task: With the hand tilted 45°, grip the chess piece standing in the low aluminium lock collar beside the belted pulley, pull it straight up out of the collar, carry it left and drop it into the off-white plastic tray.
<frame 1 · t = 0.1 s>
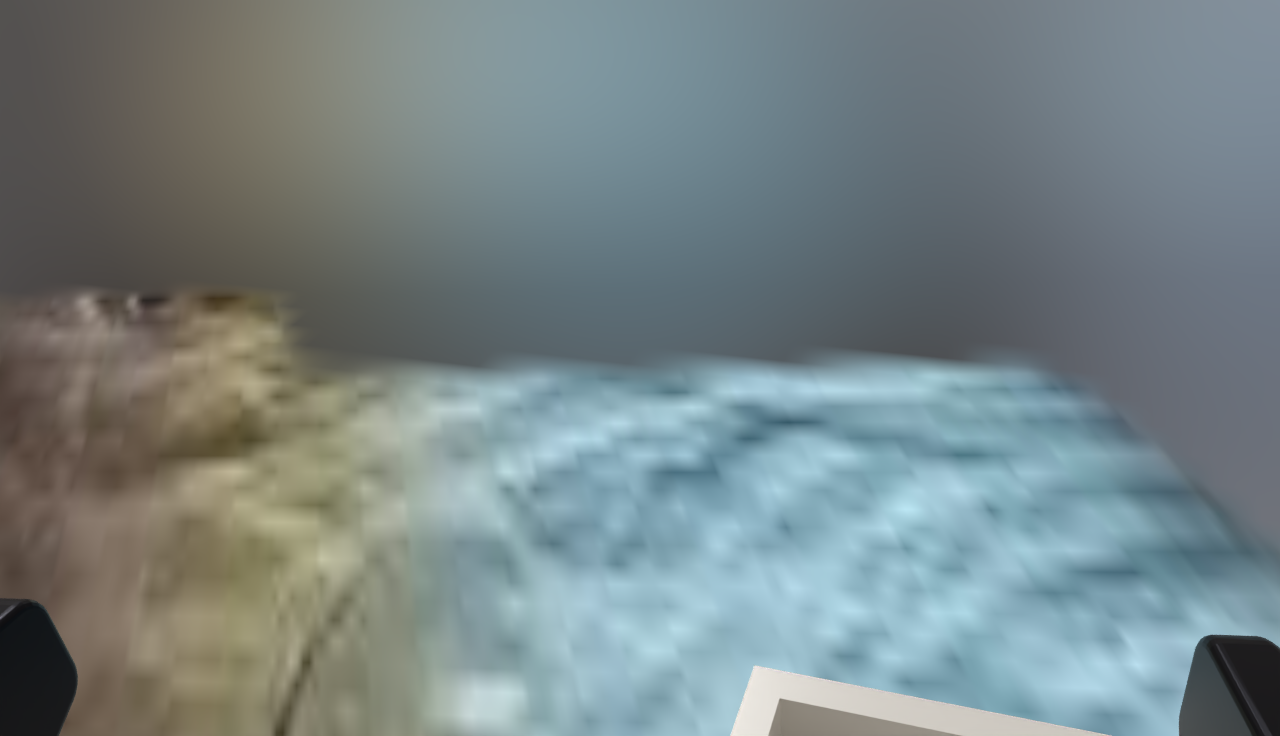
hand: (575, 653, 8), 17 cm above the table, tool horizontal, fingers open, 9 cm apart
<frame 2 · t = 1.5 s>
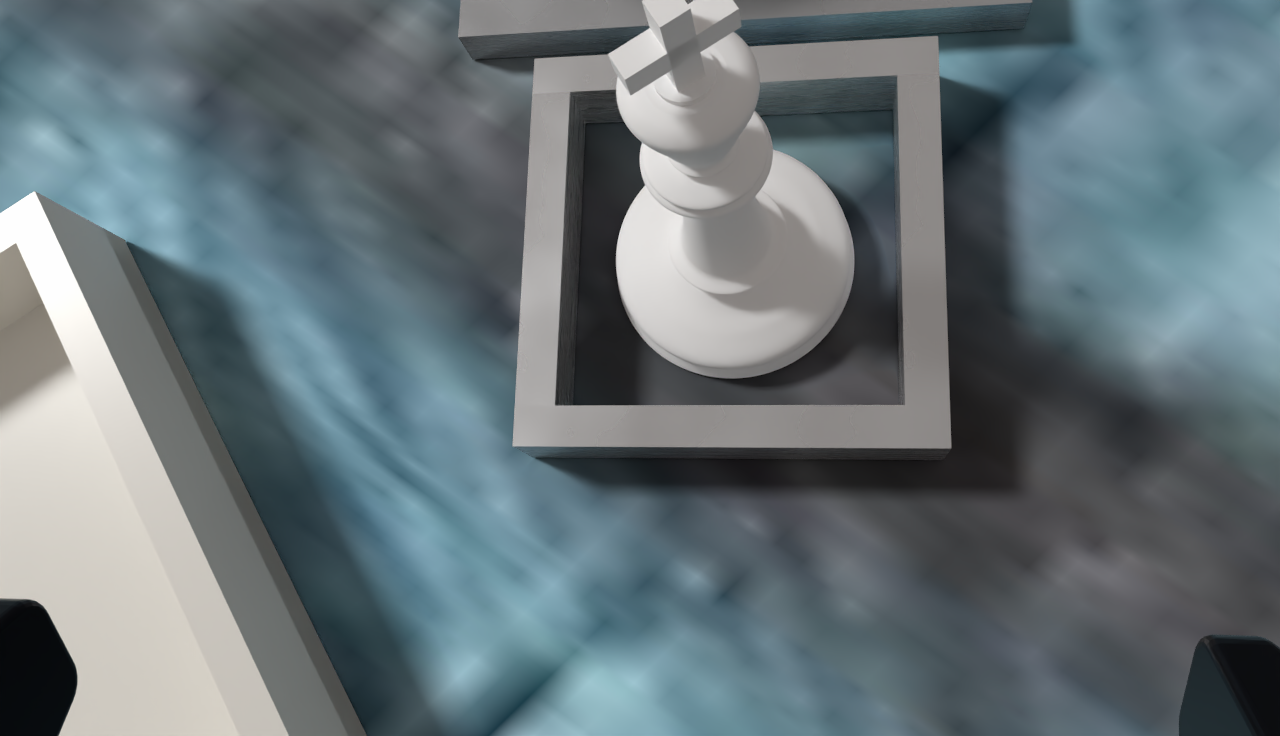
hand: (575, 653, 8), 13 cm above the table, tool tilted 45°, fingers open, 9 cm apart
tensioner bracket: (733, 263, 23), on the table
chess piece: (734, 266, 23), resting in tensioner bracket
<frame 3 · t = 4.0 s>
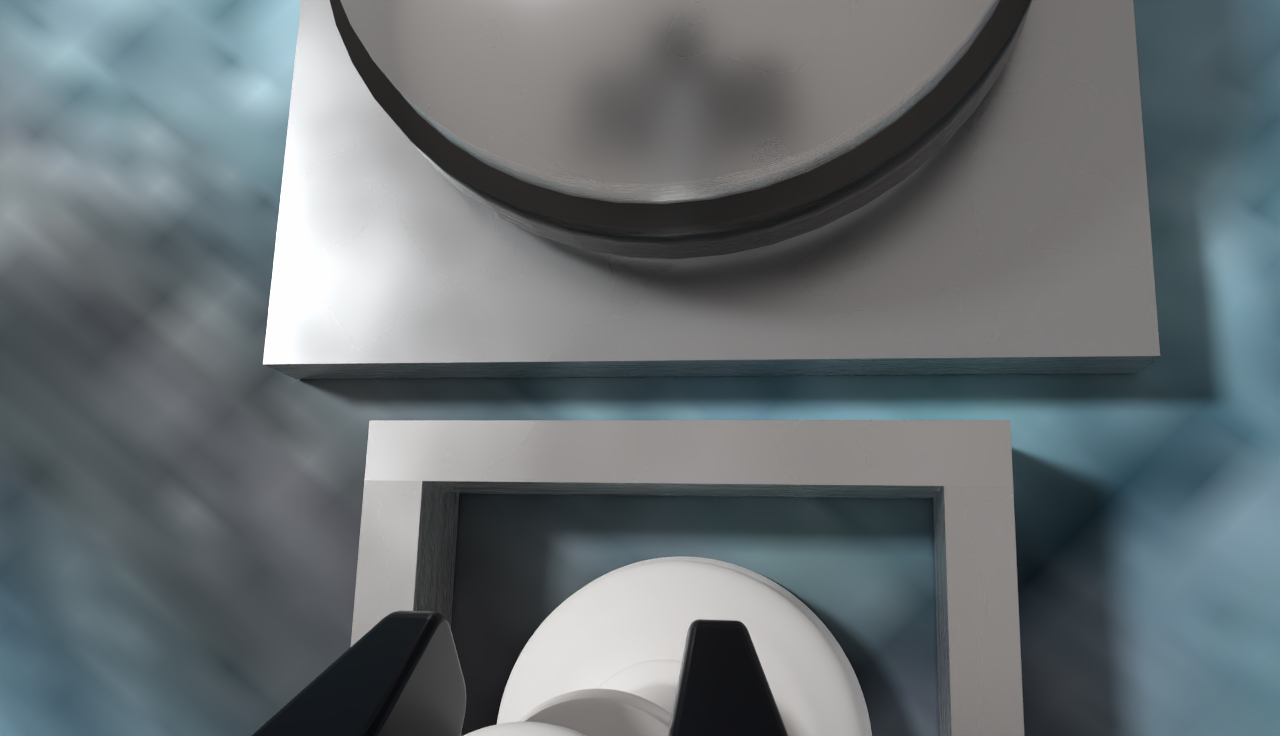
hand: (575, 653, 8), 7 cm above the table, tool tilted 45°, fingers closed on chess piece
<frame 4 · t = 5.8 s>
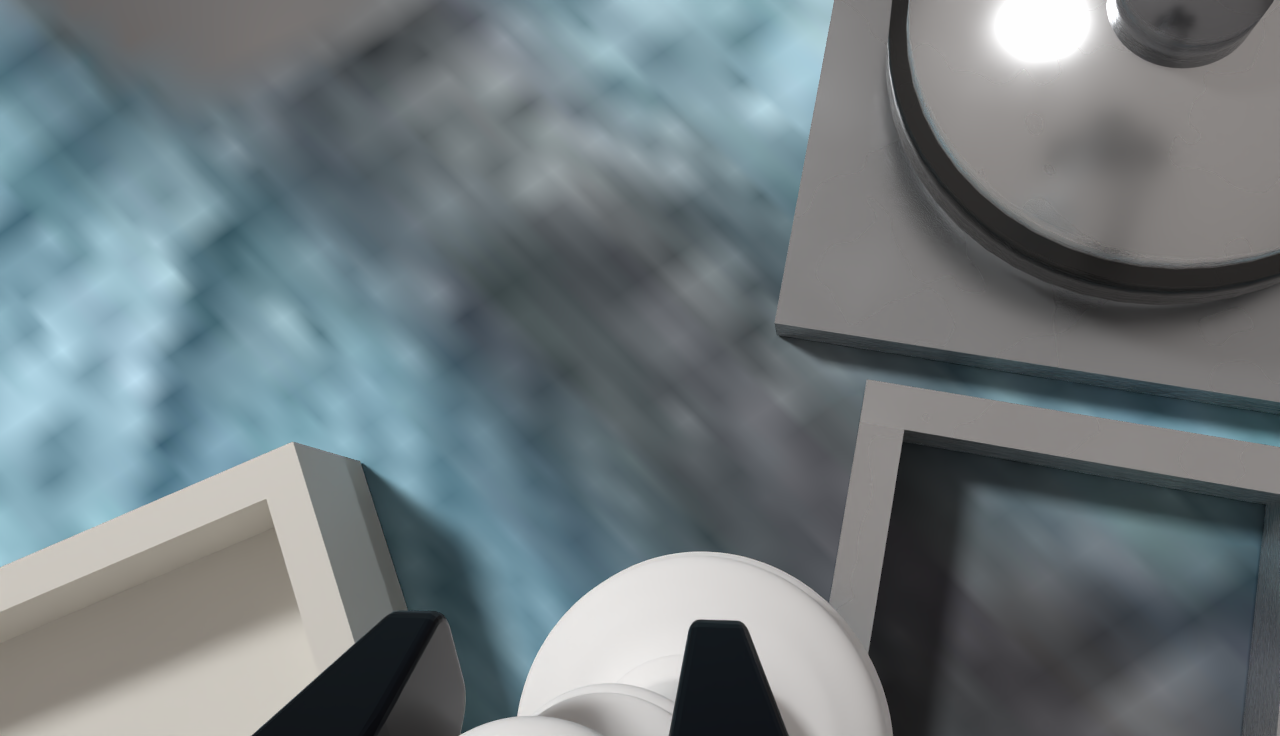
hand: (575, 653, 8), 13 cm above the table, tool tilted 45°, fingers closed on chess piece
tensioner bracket: (1053, 648, 20), on the table
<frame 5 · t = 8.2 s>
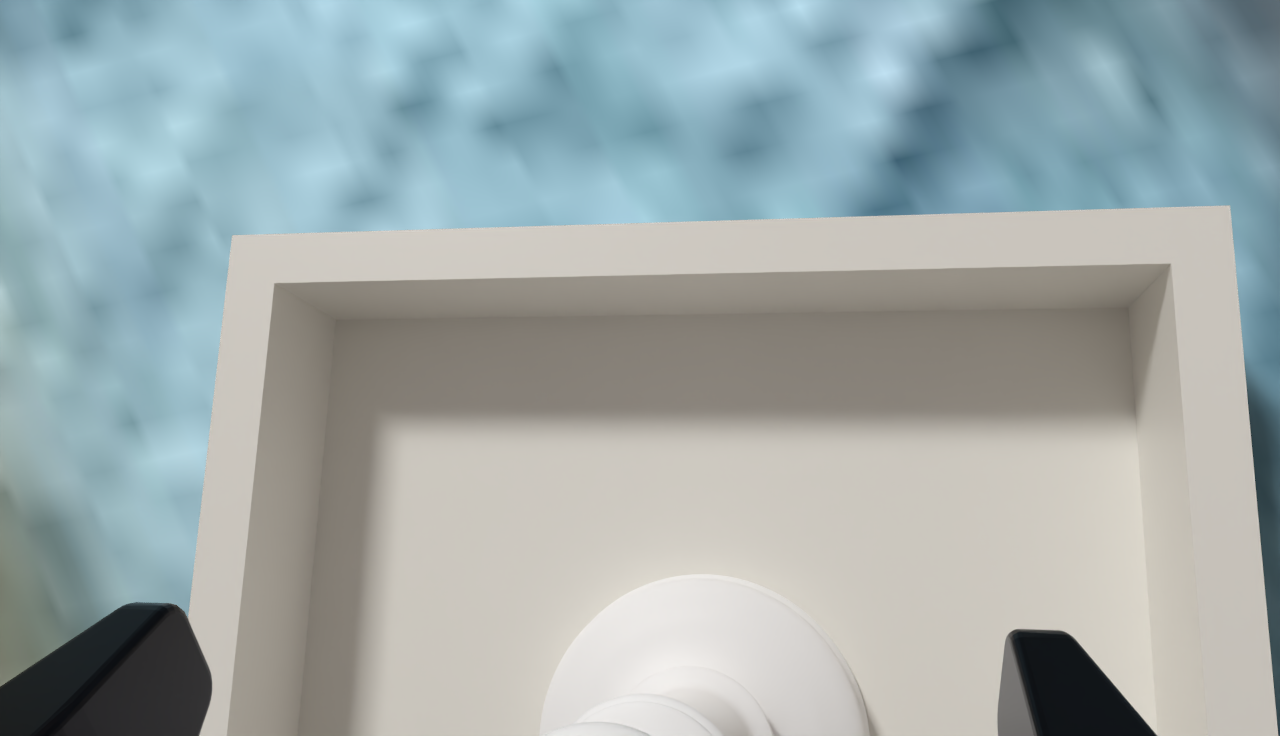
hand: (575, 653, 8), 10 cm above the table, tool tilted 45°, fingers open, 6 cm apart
tray: (706, 723, 17), on the table
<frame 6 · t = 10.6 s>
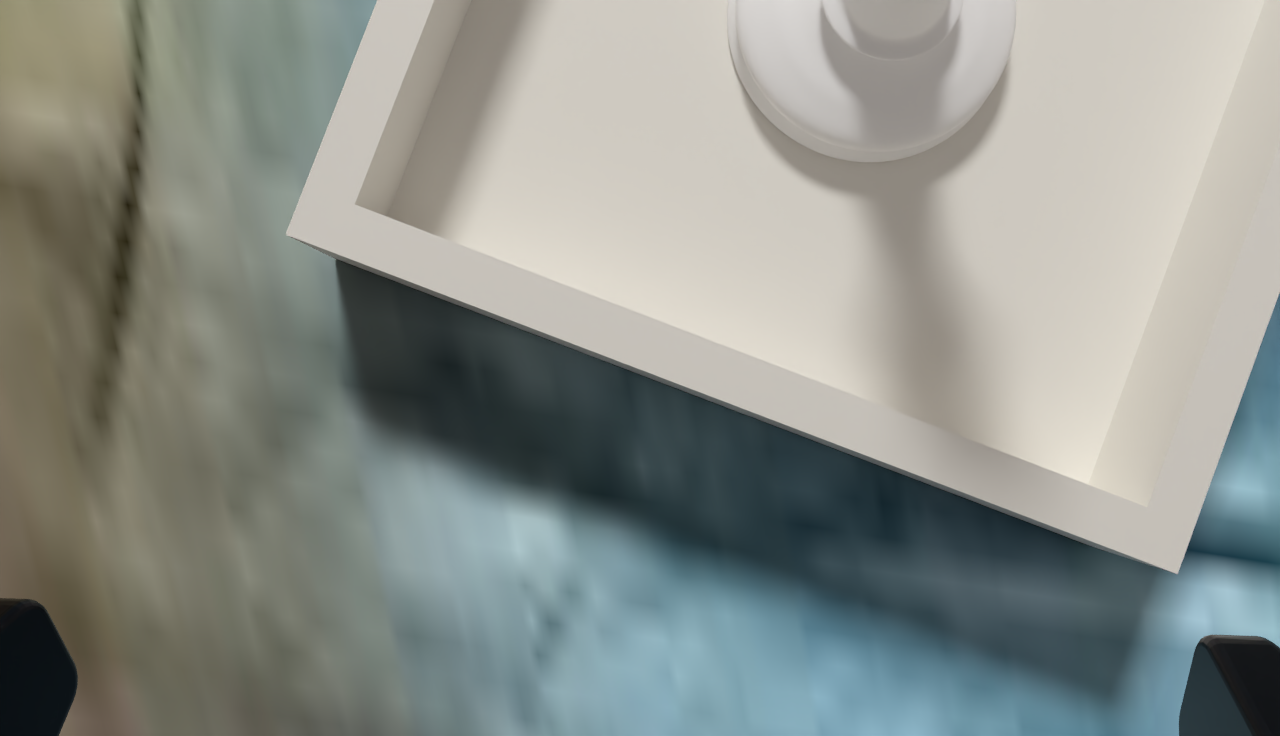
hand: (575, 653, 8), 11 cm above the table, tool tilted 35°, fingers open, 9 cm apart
chess piece: (864, 26, 19), point 1 cm above the table, touching tray
tray: (857, 28, 20), on the table
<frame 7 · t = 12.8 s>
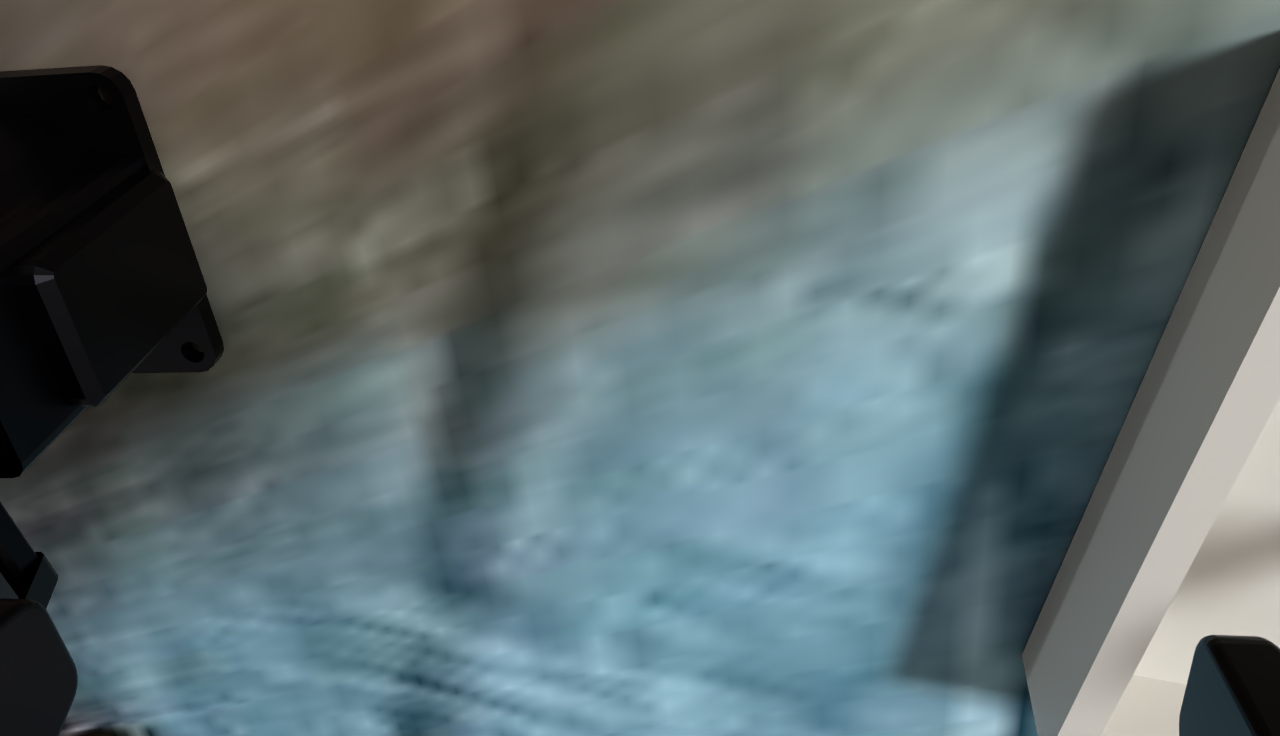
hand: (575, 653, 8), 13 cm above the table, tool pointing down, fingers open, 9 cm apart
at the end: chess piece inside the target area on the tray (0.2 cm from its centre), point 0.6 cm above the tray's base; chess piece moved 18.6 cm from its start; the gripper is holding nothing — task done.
